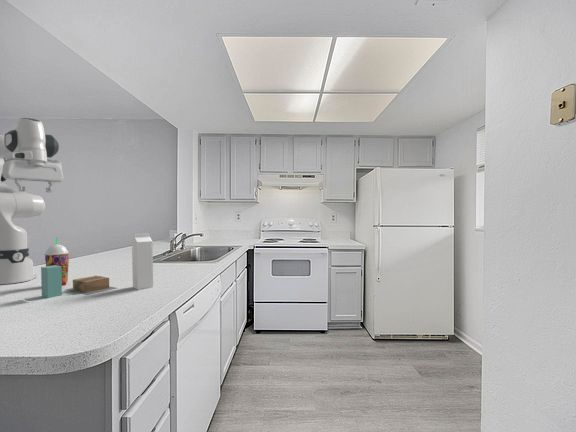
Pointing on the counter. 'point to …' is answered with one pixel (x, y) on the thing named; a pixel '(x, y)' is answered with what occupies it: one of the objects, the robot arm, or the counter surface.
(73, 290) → the mat
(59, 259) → the smoothie
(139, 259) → the milk
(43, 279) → the pillar
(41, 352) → the counter surface
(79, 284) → the base slab
